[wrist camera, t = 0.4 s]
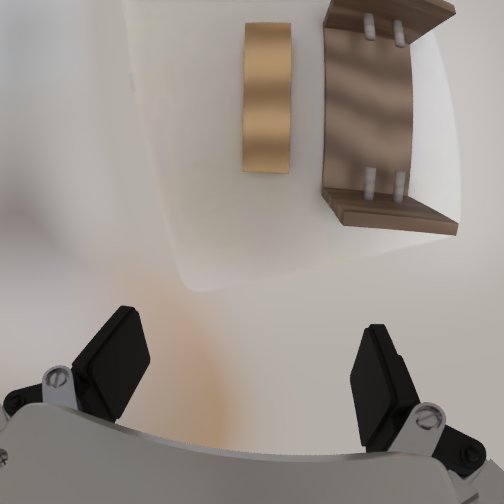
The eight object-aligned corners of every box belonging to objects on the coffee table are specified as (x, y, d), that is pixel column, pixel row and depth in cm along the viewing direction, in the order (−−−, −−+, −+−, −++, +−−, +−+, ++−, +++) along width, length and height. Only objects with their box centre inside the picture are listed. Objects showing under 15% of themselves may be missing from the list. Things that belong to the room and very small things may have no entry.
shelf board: (251, 40, 28) (245, 23, 23) (289, 40, 28) (290, 23, 22) (249, 167, 35) (242, 171, 30) (287, 168, 35) (288, 173, 29)
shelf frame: (323, 23, 26) (340, -30, 13) (405, 39, 25) (453, 5, 12) (321, 195, 35) (342, 225, 22) (403, 202, 34) (456, 235, 21)
